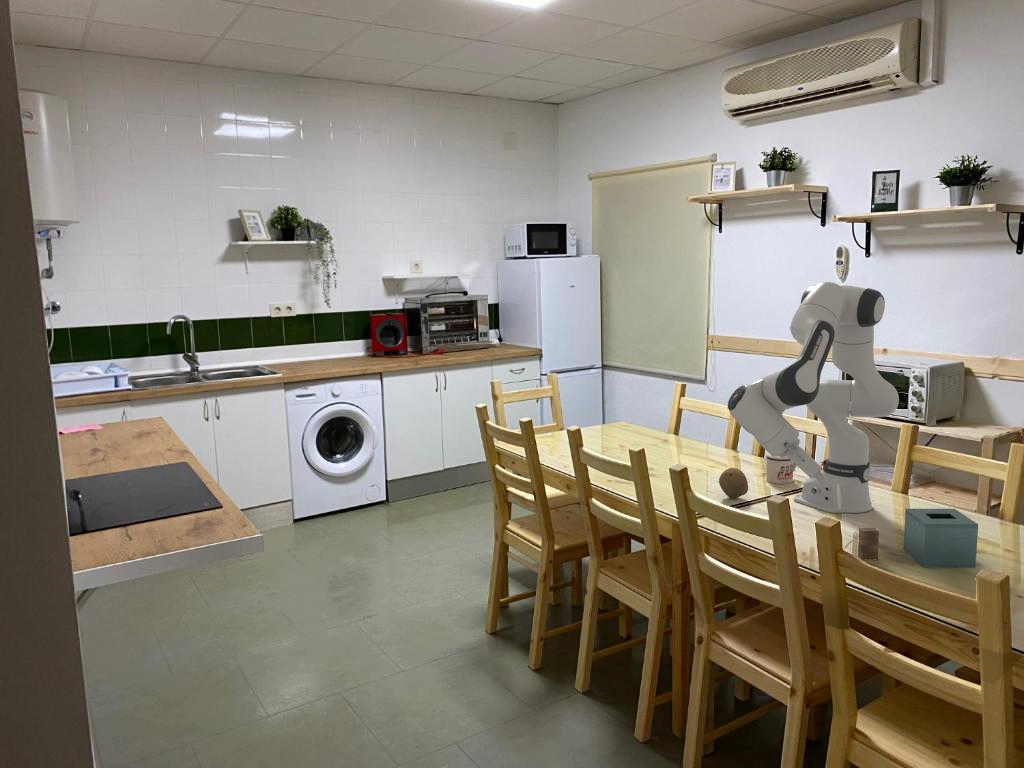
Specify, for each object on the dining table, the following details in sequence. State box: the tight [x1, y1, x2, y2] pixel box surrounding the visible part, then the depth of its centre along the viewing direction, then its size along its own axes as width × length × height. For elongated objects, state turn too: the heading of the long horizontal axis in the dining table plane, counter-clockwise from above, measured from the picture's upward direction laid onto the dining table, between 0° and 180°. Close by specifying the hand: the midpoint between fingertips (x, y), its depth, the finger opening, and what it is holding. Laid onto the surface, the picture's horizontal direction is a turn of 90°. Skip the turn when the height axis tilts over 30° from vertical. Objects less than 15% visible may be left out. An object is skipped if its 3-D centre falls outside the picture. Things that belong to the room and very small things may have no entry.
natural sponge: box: [718, 467, 749, 500], centre depth 245 cm, size 9×9×10 cm
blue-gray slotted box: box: [903, 508, 979, 569], centre depth 190 cm, size 12×12×11 cm
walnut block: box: [857, 527, 880, 561], centre depth 192 cm, size 4×2×8 cm, turn 84°
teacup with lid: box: [765, 452, 797, 485], centre depth 262 cm, size 12×9×12 cm
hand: (819, 477), depth 191 cm, fingers open, 8 cm apart
